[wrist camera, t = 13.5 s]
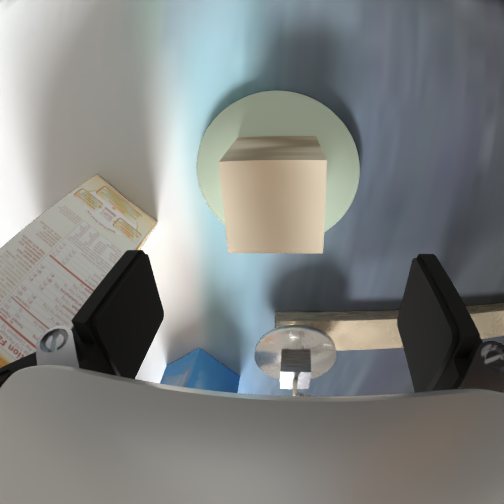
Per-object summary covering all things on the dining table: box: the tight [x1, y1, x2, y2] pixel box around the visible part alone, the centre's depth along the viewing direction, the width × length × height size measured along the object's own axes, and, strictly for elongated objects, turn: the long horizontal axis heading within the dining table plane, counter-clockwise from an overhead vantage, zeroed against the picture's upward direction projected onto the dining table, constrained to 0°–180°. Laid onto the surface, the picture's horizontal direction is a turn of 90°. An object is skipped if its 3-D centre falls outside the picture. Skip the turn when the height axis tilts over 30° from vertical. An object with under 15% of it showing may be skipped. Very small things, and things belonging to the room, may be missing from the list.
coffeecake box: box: [0, 175, 157, 368], centre depth 19 cm, size 15×7×20 cm, turn 140°
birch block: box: [219, 136, 327, 253], centre depth 18 cm, size 5×5×6 cm
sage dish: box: [197, 90, 360, 232], centre depth 21 cm, size 11×11×1 cm
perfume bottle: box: [160, 348, 240, 393], centre depth 29 cm, size 6×6×12 cm
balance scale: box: [255, 303, 504, 397], centre depth 21 cm, size 30×7×15 cm, turn 94°
